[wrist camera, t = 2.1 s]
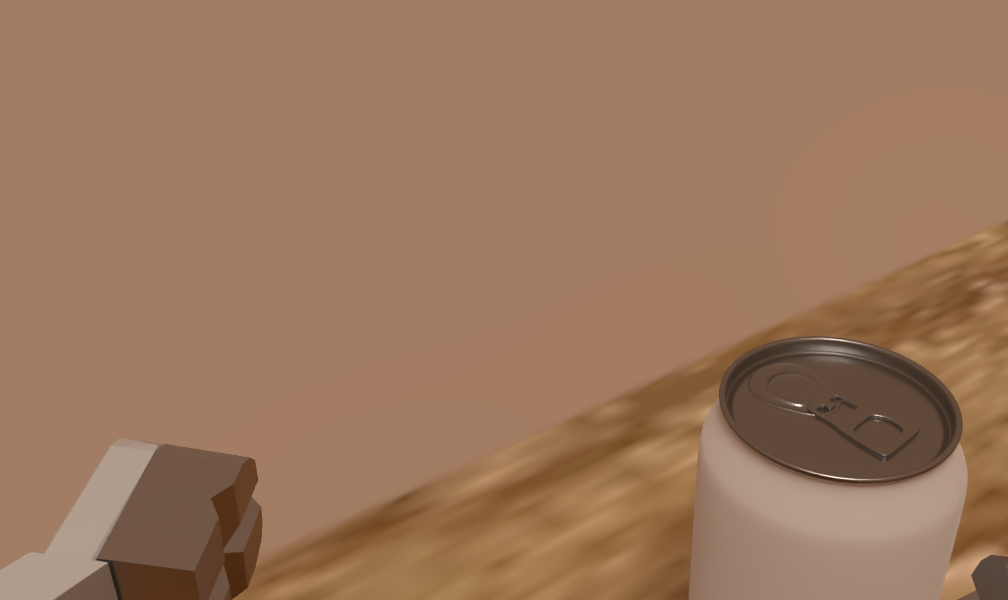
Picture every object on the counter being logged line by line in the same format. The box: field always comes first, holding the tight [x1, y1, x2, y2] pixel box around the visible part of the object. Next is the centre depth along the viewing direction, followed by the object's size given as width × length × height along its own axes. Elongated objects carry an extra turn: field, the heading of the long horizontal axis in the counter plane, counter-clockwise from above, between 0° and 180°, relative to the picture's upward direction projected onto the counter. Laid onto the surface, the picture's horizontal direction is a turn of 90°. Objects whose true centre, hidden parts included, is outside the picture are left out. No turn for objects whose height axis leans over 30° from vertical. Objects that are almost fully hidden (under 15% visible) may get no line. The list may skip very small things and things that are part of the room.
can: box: [688, 336, 968, 600], centre depth 26 cm, size 6×6×12 cm
